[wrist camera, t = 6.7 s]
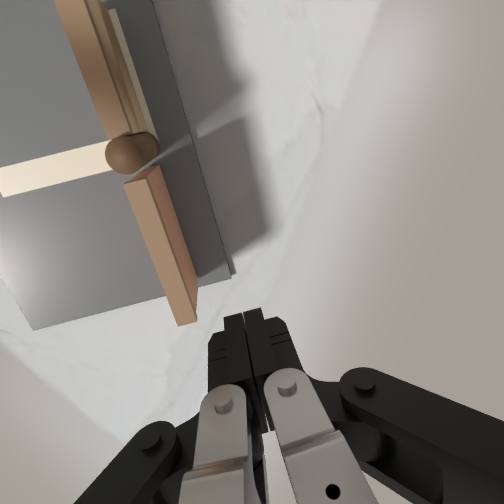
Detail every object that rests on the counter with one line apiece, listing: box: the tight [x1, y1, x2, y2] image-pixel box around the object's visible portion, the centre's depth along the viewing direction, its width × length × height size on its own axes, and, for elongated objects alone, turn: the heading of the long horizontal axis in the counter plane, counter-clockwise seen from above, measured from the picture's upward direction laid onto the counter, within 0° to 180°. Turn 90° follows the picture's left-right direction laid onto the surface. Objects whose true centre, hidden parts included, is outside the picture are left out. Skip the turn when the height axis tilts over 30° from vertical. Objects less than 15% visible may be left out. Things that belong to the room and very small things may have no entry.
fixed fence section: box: [53, 0, 160, 175], centre depth 18 cm, size 8×2×6 cm, turn 13°
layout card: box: [0, 0, 232, 331], centre depth 22 cm, size 21×16×1 cm
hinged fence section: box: [123, 165, 198, 326], centre depth 21 cm, size 9×1×6 cm, turn 13°
